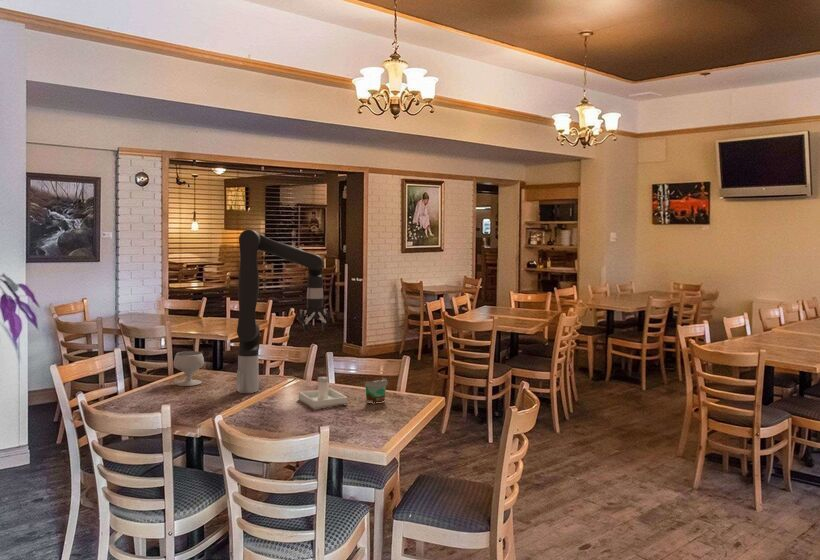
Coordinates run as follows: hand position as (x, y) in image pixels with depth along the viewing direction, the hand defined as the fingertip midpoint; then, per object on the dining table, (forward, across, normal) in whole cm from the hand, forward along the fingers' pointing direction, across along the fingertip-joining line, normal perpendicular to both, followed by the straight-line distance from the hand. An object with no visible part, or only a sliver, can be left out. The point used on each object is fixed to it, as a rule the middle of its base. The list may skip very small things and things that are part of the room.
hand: (314, 331), depth 302 cm
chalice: (+28, +49, -39) cm, 69 cm away
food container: (+28, -17, +33) cm, 47 cm away
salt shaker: (+27, +5, +22) cm, 35 cm away
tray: (+28, +5, +22) cm, 36 cm away
